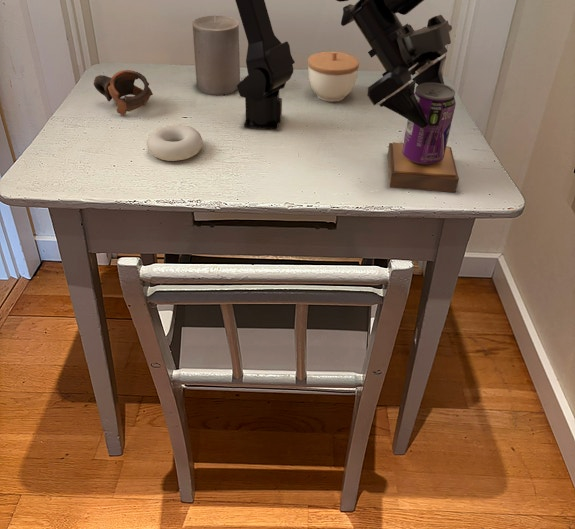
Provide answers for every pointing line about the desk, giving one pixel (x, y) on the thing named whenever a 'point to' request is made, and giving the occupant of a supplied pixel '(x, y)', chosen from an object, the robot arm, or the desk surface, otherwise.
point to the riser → (421, 171)
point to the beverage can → (430, 124)
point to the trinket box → (332, 74)
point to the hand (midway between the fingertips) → (436, 116)
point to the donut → (174, 142)
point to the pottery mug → (124, 90)
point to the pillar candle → (216, 54)
